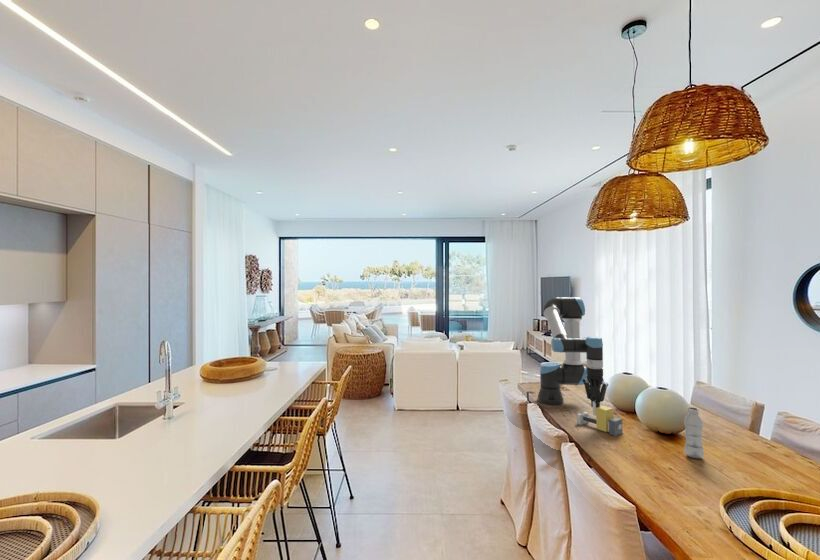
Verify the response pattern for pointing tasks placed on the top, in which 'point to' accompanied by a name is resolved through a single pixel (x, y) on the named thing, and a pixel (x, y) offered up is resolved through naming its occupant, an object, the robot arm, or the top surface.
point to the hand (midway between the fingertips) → (595, 414)
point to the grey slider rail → (613, 423)
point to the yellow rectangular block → (603, 417)
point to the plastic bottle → (693, 434)
